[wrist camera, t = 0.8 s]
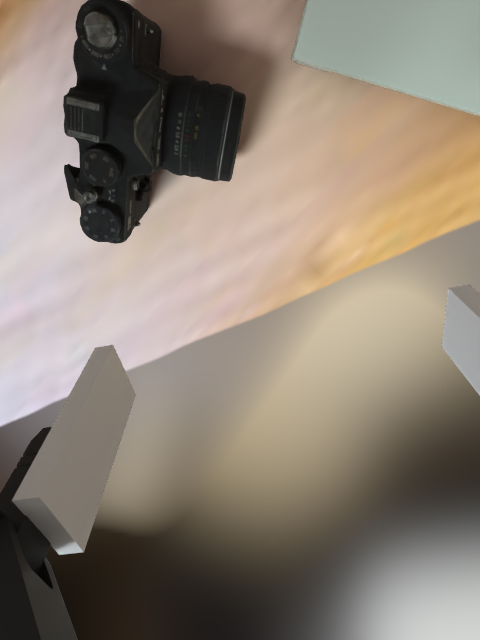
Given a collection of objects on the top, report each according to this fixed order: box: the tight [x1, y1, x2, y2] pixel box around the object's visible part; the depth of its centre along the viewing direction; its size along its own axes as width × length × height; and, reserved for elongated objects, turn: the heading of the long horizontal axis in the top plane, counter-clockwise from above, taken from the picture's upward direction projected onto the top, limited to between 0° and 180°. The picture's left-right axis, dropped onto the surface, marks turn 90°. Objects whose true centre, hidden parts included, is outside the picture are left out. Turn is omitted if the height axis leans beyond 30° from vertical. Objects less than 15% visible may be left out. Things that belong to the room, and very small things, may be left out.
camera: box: [63, 0, 246, 243], centre depth 26 cm, size 14×11×10 cm
